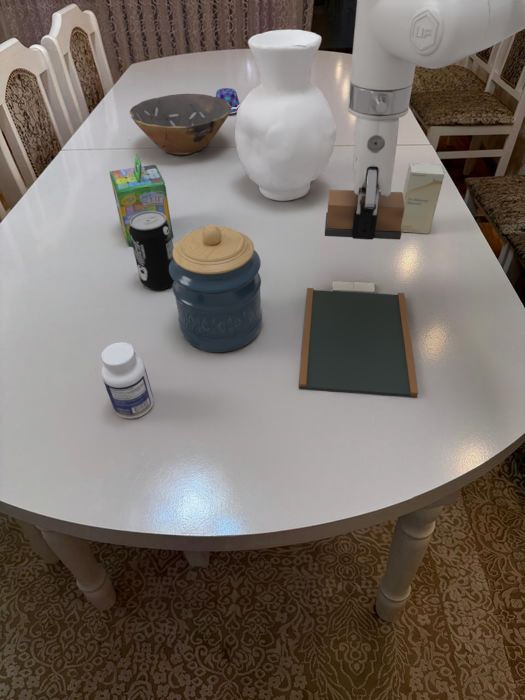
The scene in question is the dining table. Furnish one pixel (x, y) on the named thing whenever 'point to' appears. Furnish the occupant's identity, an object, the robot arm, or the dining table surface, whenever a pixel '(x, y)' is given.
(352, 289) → the chalk mark
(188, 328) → the canister
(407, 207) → the cosmetic box
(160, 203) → the chalk box
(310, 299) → the board
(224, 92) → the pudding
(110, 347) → the pill bottle
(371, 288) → the white flat block
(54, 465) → the dining table surface
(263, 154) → the vase
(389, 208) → the eraser
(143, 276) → the beverage can
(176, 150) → the bowl
